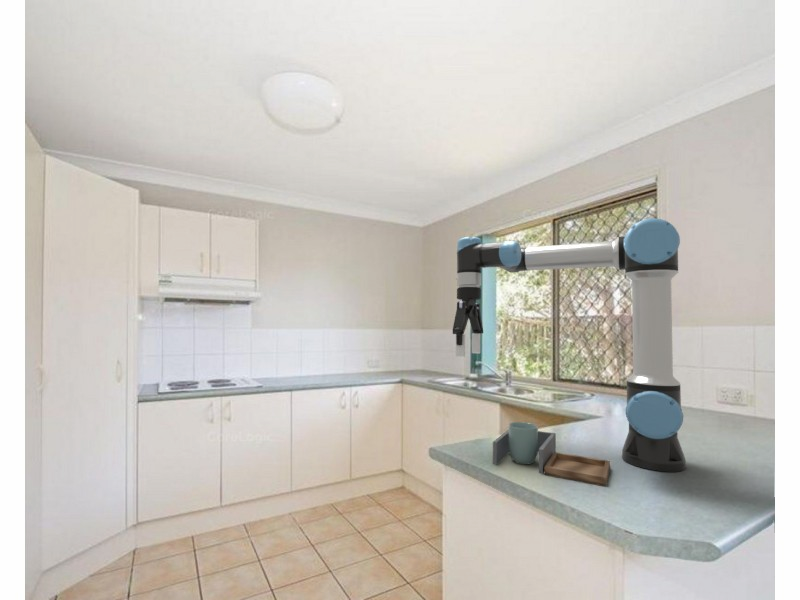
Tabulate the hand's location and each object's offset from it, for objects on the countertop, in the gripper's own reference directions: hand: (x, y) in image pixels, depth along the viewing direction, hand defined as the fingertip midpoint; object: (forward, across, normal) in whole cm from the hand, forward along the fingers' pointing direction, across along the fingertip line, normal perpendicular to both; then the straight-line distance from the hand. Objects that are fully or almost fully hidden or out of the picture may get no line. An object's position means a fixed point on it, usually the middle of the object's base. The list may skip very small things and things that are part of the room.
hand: (468, 355), depth 130 cm
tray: (+28, +6, +32) cm, 43 cm away
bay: (+28, +4, +18) cm, 34 cm away
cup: (+28, +6, +18) cm, 34 cm away
